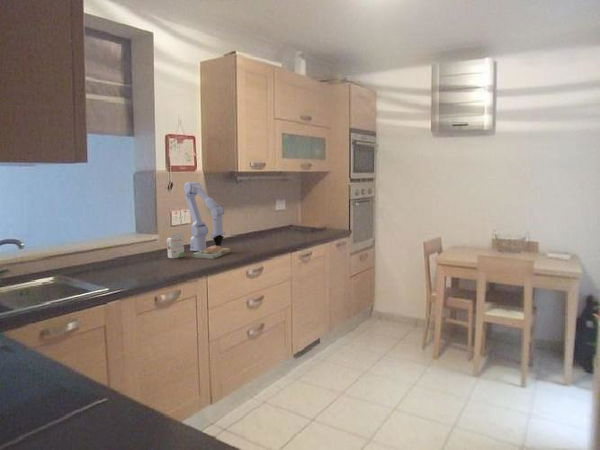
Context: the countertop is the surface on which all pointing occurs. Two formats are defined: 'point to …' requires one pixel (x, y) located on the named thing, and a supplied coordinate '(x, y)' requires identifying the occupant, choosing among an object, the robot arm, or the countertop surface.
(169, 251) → the ink box
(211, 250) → the tile front
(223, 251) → the beige square slab
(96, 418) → the countertop surface
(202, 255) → the tray
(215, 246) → the tile rear
